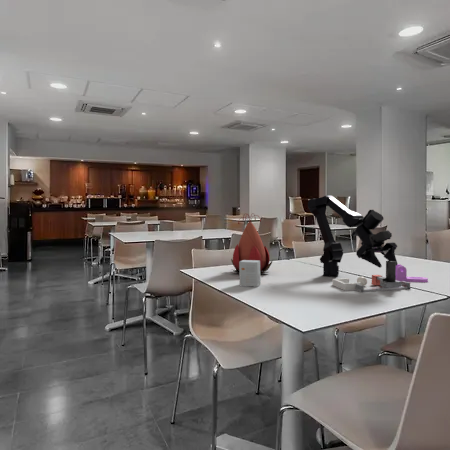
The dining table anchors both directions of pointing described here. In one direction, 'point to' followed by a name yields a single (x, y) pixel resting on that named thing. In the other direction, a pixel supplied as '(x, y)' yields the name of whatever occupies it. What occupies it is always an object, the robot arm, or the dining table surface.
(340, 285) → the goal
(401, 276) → the bracket
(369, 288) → the rail
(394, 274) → the post on base plate
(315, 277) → the dining table surface
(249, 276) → the small box
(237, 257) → the decorative flower
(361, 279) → the ball
